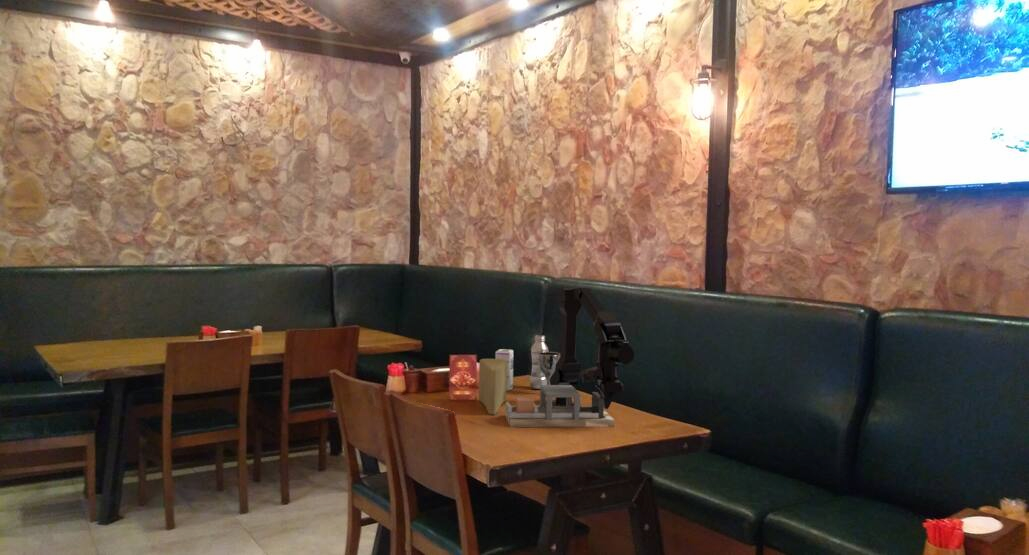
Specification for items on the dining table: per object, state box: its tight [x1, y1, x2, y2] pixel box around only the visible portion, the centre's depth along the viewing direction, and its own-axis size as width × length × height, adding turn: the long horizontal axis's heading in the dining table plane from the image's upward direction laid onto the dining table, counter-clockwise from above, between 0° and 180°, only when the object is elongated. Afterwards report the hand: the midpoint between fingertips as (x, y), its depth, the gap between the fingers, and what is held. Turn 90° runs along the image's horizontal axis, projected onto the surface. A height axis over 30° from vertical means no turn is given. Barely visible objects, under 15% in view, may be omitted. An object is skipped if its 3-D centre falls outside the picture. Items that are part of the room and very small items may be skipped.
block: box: [515, 396, 535, 413], centre depth 246 cm, size 5×5×5 cm
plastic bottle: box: [529, 334, 549, 390], centre depth 296 cm, size 6×7×20 cm
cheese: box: [478, 358, 507, 416], centre depth 264 cm, size 22×10×15 cm, turn 1°
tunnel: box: [539, 384, 581, 420], centre depth 247 cm, size 14×10×8 cm
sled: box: [504, 391, 605, 418], centre depth 247 cm, size 10×29×6 cm, turn 97°
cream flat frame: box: [504, 409, 616, 428], centre depth 247 cm, size 14×32×2 cm, turn 97°
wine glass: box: [538, 351, 561, 396], centre depth 287 cm, size 8×8×15 cm
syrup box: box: [495, 348, 514, 392], centre depth 295 cm, size 6×6×14 cm
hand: (606, 408), depth 249 cm, fingers closed, pressing on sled
